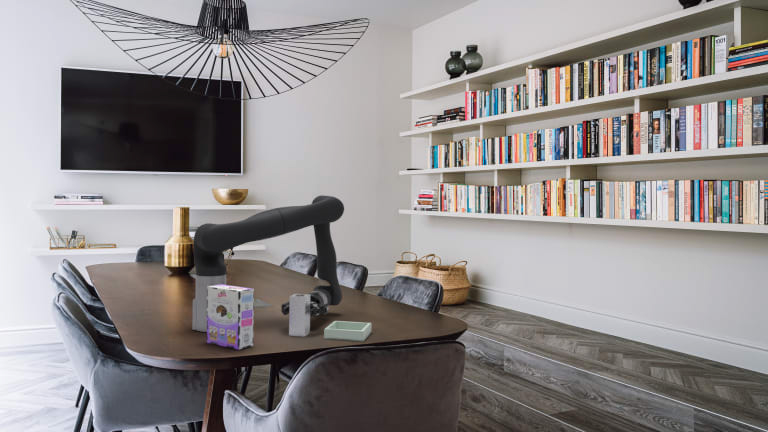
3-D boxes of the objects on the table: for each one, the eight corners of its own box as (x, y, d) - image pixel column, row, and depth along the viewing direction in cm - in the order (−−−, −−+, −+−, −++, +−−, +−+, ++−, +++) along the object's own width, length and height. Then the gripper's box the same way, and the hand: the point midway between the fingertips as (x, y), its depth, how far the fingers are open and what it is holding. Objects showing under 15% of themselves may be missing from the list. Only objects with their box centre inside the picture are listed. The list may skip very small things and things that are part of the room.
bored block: (289, 335, 175) (289, 296, 174) (294, 331, 180) (295, 293, 179) (304, 336, 174) (305, 296, 173) (309, 332, 179) (310, 294, 178)
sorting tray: (324, 338, 171) (324, 329, 171) (334, 330, 183) (334, 320, 183) (363, 341, 169) (363, 331, 169) (371, 332, 181) (371, 323, 181)
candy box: (254, 346, 161) (255, 288, 161) (238, 350, 156) (239, 290, 156) (221, 338, 169) (222, 283, 168) (205, 342, 164) (206, 285, 164)
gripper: (293, 291, 192) (275, 299, 176) (334, 293, 189) (320, 301, 173) (293, 313, 192) (275, 323, 176) (334, 315, 189) (320, 326, 173)
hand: (297, 312), depth 175 cm, fingers open, 8 cm apart
